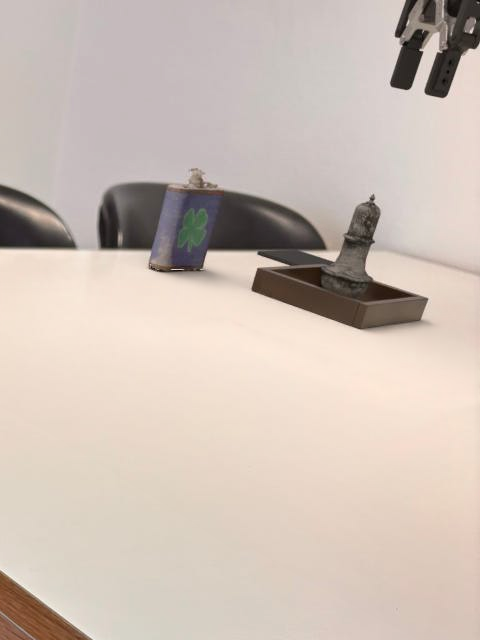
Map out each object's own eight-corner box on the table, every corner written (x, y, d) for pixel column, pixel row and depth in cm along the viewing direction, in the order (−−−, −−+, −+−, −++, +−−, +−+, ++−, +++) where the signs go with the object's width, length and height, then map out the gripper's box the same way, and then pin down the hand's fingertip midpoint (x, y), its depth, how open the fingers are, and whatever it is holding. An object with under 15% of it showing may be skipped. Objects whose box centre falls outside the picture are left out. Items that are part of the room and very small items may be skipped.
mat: (295, 252, 149) (296, 249, 148) (358, 273, 143) (359, 269, 143) (256, 254, 142) (257, 250, 142) (321, 275, 136) (322, 272, 136)
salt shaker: (311, 304, 120) (348, 191, 113) (310, 294, 125) (345, 185, 118) (363, 316, 119) (403, 203, 113) (360, 305, 124) (398, 196, 118)
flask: (159, 272, 120) (184, 170, 114) (139, 265, 122) (163, 164, 116) (208, 270, 126) (234, 173, 120) (188, 263, 128) (213, 167, 122)
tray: (316, 284, 131) (323, 263, 129) (420, 320, 123) (429, 298, 122) (250, 290, 120) (257, 267, 119) (359, 329, 113) (368, 305, 112)
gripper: (556, -93, 95) (482, 107, 103) (481, -86, 107) (420, 92, 115) (479, -112, 94) (411, 92, 102) (412, -103, 106) (356, 79, 114)
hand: (416, 92), depth 109 cm, fingers open, 8 cm apart
